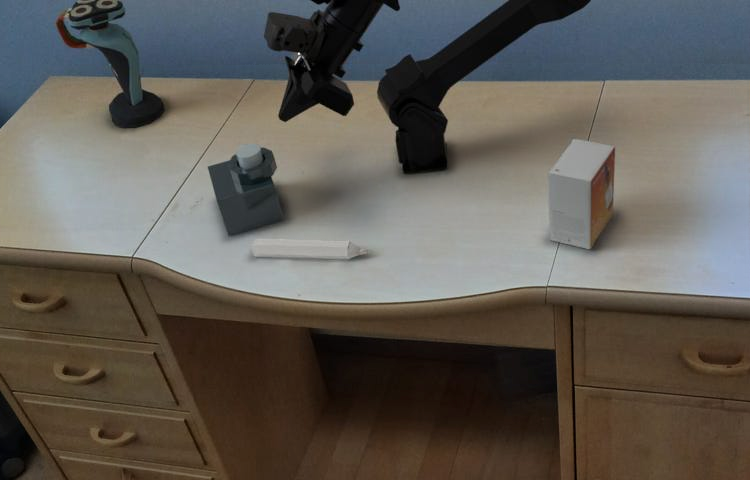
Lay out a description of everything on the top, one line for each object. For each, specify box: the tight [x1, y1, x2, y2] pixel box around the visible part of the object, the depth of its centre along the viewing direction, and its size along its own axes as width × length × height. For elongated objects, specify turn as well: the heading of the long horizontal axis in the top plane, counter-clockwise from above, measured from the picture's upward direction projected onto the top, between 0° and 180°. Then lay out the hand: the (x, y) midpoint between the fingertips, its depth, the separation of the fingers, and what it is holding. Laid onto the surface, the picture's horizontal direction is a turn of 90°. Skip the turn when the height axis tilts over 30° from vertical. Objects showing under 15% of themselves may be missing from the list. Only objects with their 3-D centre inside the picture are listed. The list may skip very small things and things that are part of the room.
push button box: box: [207, 146, 285, 237], centre depth 129 cm, size 9×9×8 cm
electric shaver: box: [55, 0, 166, 129], centre depth 150 cm, size 9×12×20 cm
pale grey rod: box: [251, 238, 371, 260], centre depth 122 cm, size 3×2×16 cm
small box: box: [547, 138, 616, 250], centre depth 115 cm, size 8×6×10 cm
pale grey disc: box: [235, 142, 264, 169], centre depth 126 cm, size 3×3×2 cm
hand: (281, 119), depth 124 cm, fingers closed
